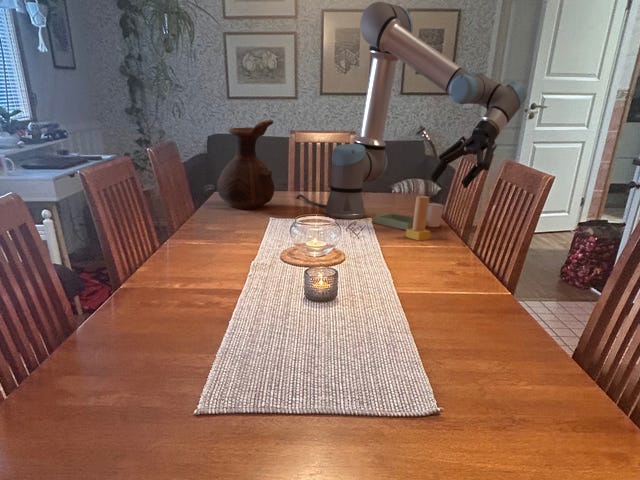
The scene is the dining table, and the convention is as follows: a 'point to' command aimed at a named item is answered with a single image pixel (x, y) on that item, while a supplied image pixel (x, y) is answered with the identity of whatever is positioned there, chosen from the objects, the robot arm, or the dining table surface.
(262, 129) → the jug
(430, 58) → the robot arm
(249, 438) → the dining table surface
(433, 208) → the white cup
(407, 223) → the tray
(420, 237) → the wooden peg on base
